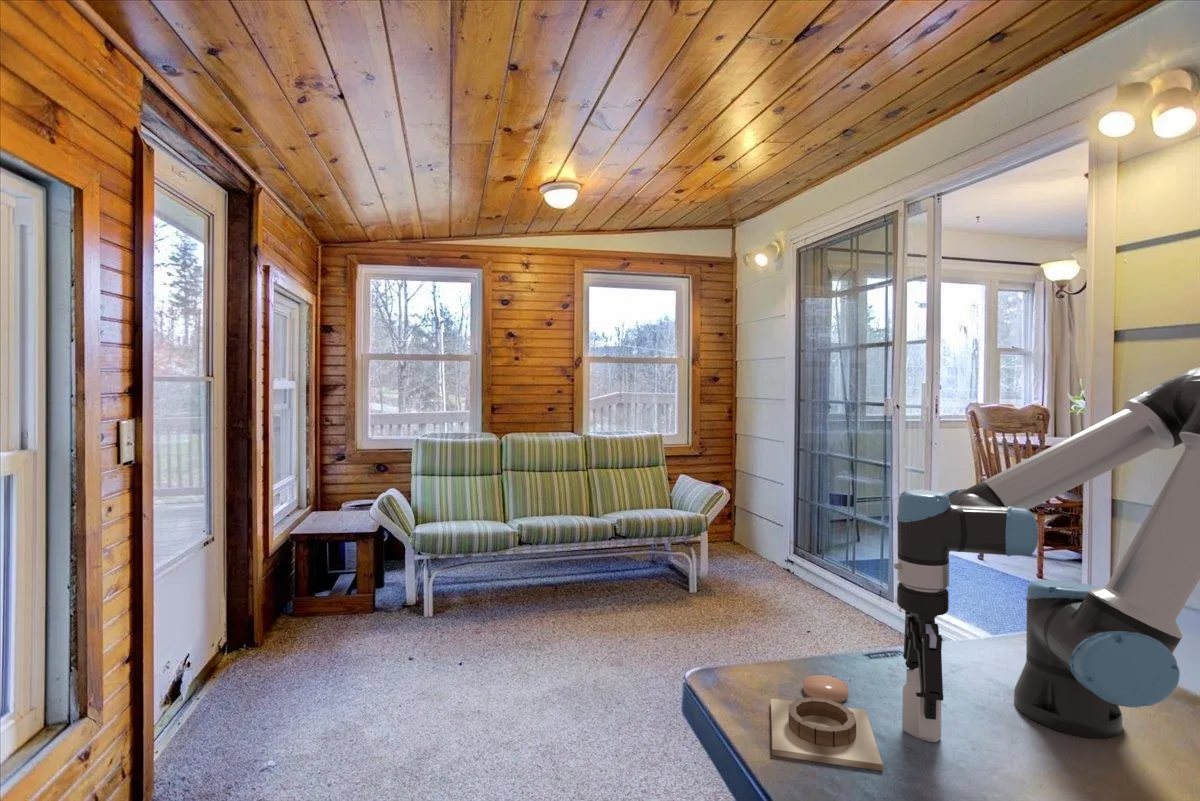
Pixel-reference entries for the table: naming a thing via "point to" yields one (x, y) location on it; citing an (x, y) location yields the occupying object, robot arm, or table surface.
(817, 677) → the peach domed part
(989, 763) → the table surface
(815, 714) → the ring collar
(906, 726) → the eye dropper bottle
